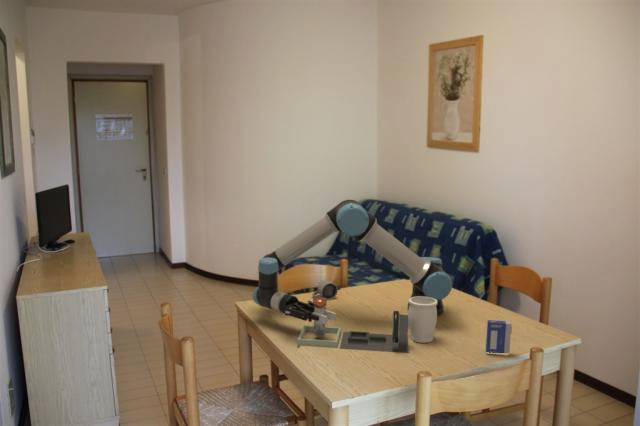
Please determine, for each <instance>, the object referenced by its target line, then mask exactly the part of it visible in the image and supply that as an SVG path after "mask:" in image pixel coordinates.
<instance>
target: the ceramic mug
mask: <svg viewBox="0 0 640 426" xmlns="http://www.w3.org/2000/svg"><path fill="white" fill-rule="evenodd" d="M337 295H338V286H337V285H336V284H335V283H333V282H331V281H330V280H327V279H326V280H325V279H324V280H321V281H320V282H319V283H318V285H317V290H316V291H314V292H313V293H312V294H311V296H312V298H313V299H314V298H325V299H327V301H330V300H333V299H334V298H336V297H337Z"/></svg>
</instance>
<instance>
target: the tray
mask: <svg viewBox="0 0 640 426" xmlns="http://www.w3.org/2000/svg"><path fill="white" fill-rule="evenodd" d="M341 330H342V328H341V327H340V326H339V327H338V326H337V327H335V326H325V334H327V333H329V334H336V335H335V340H326V339H310V338H308V339H307V338H305V335H306V333H307V332H310V333H314V325H303V327H302V329H301V331H300V334H299V335H298V337H297V348H300V347H301V346H307V347H308V346H310V347H324V348H326V347H327V348H338V345H339V340H340V336H341V333H342V331H341Z"/></svg>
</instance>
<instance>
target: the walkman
mask: <svg viewBox="0 0 640 426" xmlns="http://www.w3.org/2000/svg"><path fill="white" fill-rule="evenodd" d="M486 325H487V326H486V339H485V340H486V341H485V353H486V352H489V353H491V352H492V353H509V354H510V350H511V349H510V348H511V347H510V346H511V335H512V327H513V326H512V321H509V320H507V321H506V320H492V319H487V324H486Z"/></svg>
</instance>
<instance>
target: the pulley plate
mask: <svg viewBox="0 0 640 426" xmlns="http://www.w3.org/2000/svg"><path fill="white" fill-rule="evenodd" d="M408 333H409V322H408V314H401V313H400V310H393V312H392V329H391V334H389V333H388V334H387V333H370V332H369V331H355V330H349V331H343V333H342V337H341V341H340V346H339V350H340V349H341V350H354V351H367V352H368V351H372V352H383V353H385V352H386V353H403V354H410V353H409V352H410V350H409V347H410V346H409V335H408Z"/></svg>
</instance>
